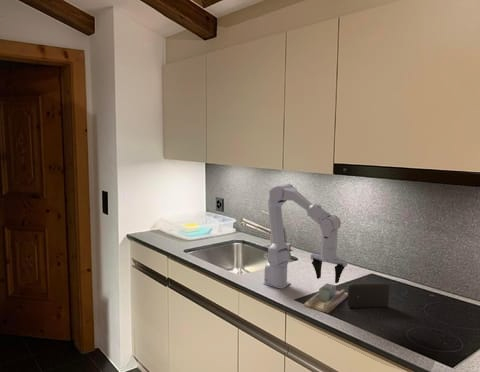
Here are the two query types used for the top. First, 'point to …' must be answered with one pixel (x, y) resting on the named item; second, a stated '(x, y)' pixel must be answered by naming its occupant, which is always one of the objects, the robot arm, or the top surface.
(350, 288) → the leaning round-cornered charcoal block
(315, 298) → the rail board
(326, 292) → the module
